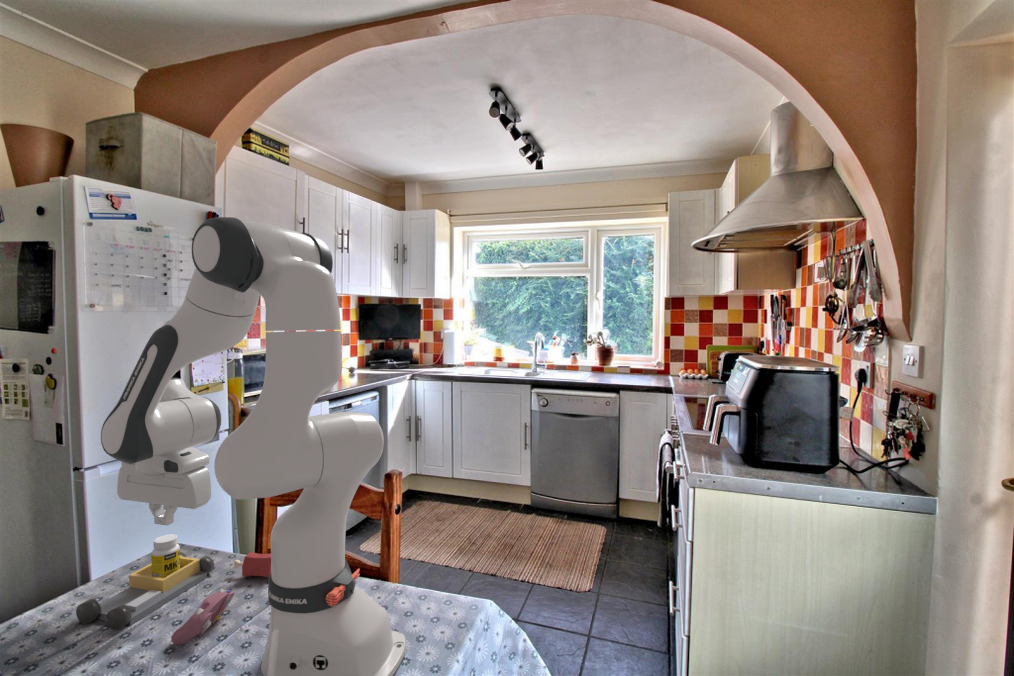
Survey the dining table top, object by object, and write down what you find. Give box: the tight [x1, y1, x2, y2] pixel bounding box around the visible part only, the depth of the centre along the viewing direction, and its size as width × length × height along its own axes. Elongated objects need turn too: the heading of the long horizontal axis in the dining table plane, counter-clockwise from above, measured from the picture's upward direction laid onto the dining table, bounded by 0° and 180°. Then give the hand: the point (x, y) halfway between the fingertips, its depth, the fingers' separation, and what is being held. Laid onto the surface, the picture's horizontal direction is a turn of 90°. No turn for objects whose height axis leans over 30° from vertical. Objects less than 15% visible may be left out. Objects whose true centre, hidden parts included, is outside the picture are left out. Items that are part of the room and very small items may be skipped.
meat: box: [233, 551, 271, 578], centre depth 100 cm, size 12×5×5 cm, turn 87°
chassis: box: [75, 551, 215, 631], centre depth 93 cm, size 11×19×4 cm, turn 167°
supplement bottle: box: [150, 533, 181, 578], centre depth 97 cm, size 5×5×8 cm
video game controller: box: [170, 587, 235, 646], centre depth 83 cm, size 10×5×7 cm, turn 178°
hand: (164, 523), depth 97 cm, fingers closed
